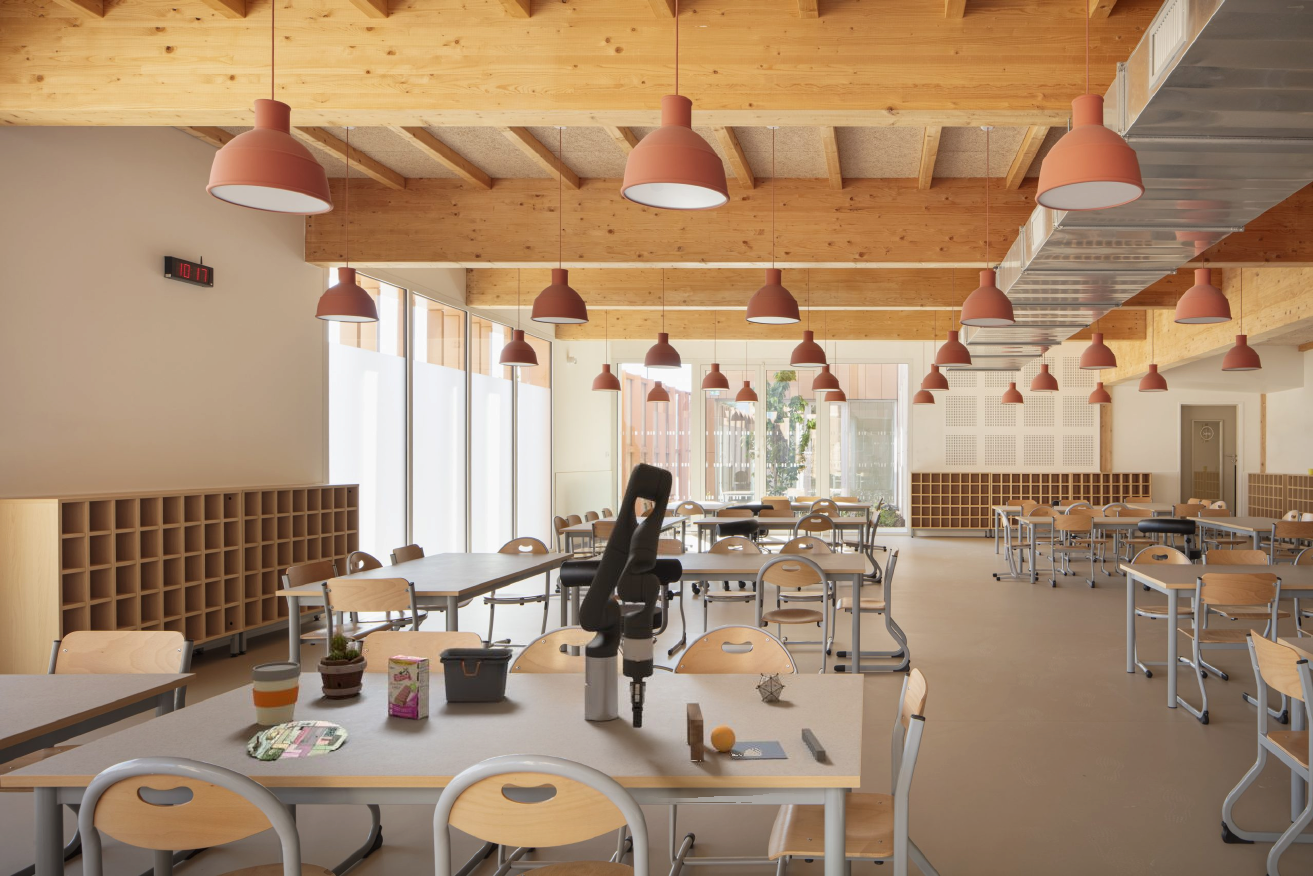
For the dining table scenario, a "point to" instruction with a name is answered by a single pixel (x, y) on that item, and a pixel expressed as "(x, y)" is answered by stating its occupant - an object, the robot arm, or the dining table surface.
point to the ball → (723, 738)
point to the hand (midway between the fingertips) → (637, 727)
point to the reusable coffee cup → (275, 691)
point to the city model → (297, 740)
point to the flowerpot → (341, 670)
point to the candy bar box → (408, 687)
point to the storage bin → (475, 674)
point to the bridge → (695, 731)
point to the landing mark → (767, 747)
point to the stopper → (813, 744)
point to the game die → (770, 687)
